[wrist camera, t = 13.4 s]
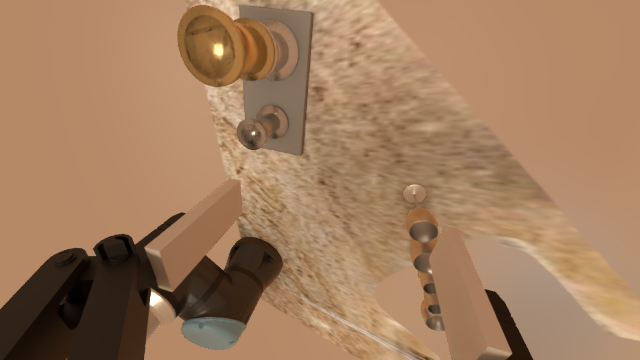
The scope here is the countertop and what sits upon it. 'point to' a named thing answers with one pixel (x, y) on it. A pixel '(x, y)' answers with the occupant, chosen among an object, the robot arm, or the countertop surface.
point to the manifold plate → (289, 90)
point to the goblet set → (424, 253)
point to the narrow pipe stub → (263, 127)
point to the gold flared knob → (224, 47)
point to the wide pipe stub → (282, 49)
